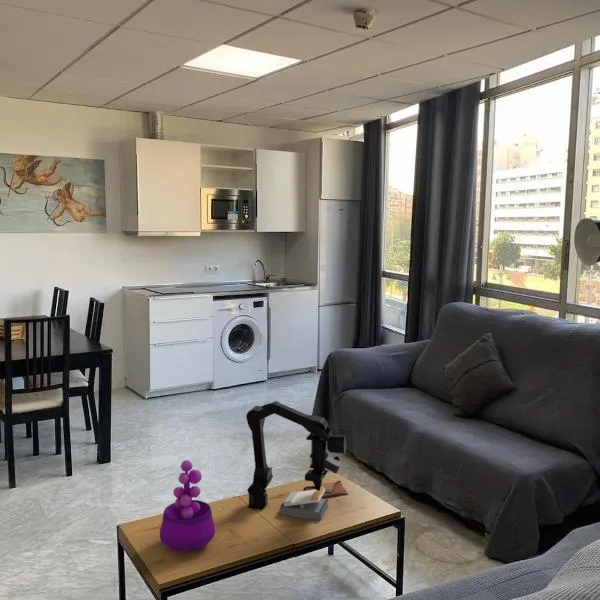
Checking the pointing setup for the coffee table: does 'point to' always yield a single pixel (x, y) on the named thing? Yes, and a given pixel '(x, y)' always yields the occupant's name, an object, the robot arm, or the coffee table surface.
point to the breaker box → (306, 509)
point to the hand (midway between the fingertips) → (318, 490)
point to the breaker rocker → (304, 497)
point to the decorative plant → (187, 515)
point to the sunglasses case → (330, 489)
